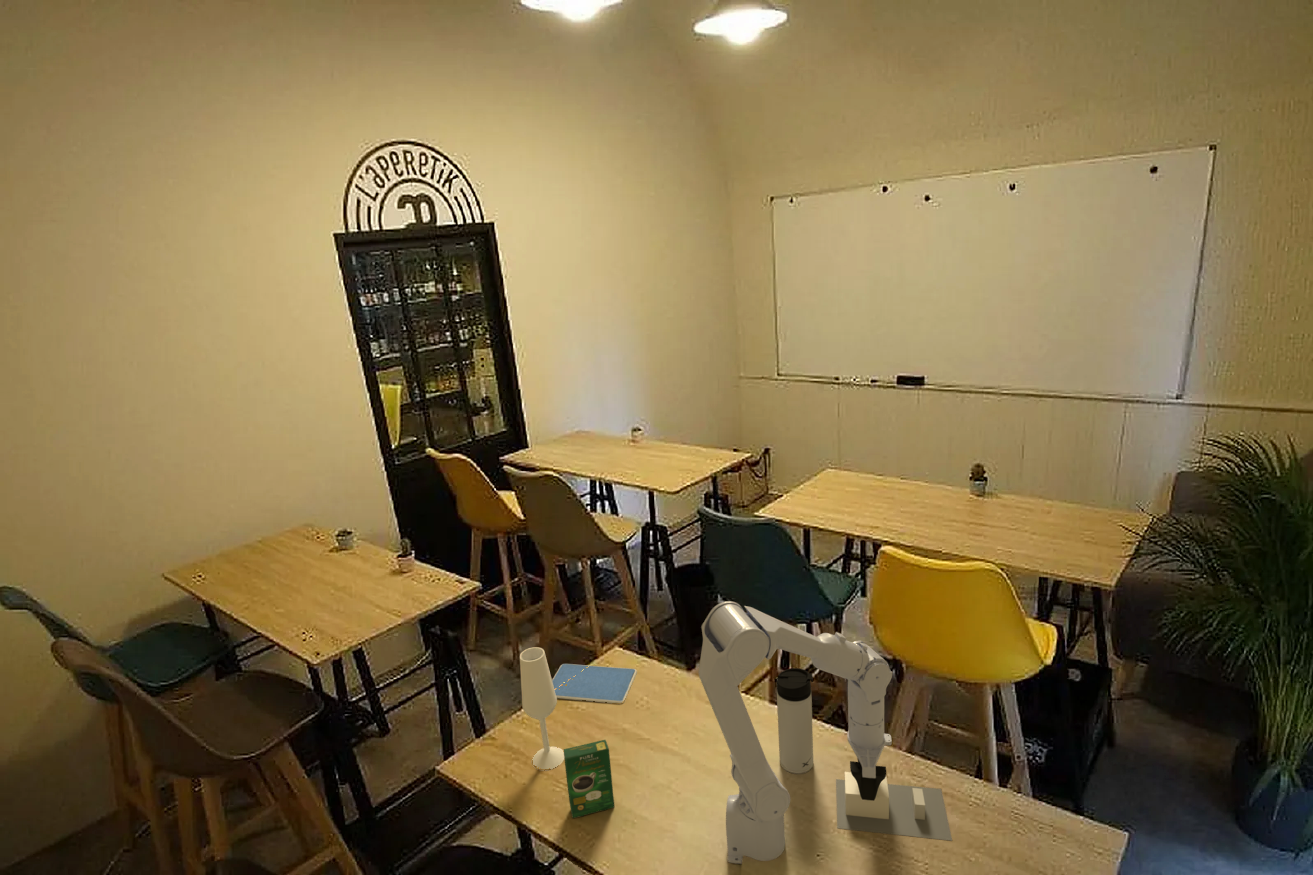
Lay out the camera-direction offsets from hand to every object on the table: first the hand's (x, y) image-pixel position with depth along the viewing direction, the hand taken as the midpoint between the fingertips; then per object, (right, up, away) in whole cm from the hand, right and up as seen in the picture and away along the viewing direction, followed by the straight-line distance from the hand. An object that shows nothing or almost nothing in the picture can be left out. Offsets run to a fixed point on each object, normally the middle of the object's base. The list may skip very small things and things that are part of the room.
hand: (866, 781), depth 119 cm
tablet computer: (-51, +1, +43) cm, 67 cm away
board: (+4, -6, +1) cm, 7 cm away
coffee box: (-47, -9, +7) cm, 49 cm away
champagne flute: (-58, -6, +21) cm, 62 cm away
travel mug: (-9, -4, +13) cm, 16 cm away
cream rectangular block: (0, -5, +1) cm, 5 cm away
